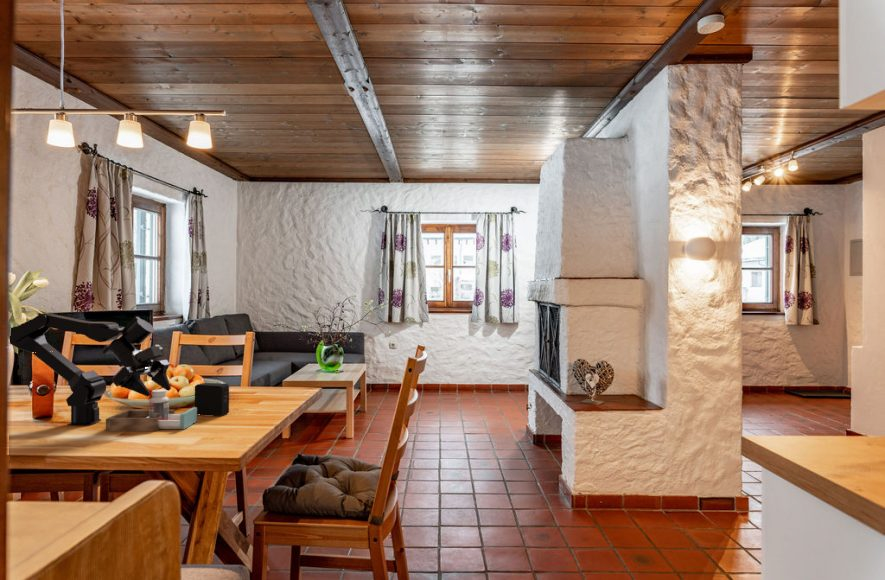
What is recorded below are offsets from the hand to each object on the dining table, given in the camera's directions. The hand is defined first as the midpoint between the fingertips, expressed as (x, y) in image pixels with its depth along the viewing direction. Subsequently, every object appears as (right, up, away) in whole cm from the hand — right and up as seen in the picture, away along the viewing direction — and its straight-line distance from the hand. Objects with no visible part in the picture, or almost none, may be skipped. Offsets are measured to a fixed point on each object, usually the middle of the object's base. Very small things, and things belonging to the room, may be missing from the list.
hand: (159, 392), depth 166 cm
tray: (+3, -10, 0) cm, 11 cm away
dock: (-6, -10, 0) cm, 12 cm away
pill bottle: (0, -9, 0) cm, 9 cm away
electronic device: (+9, -10, +16) cm, 21 cm away
